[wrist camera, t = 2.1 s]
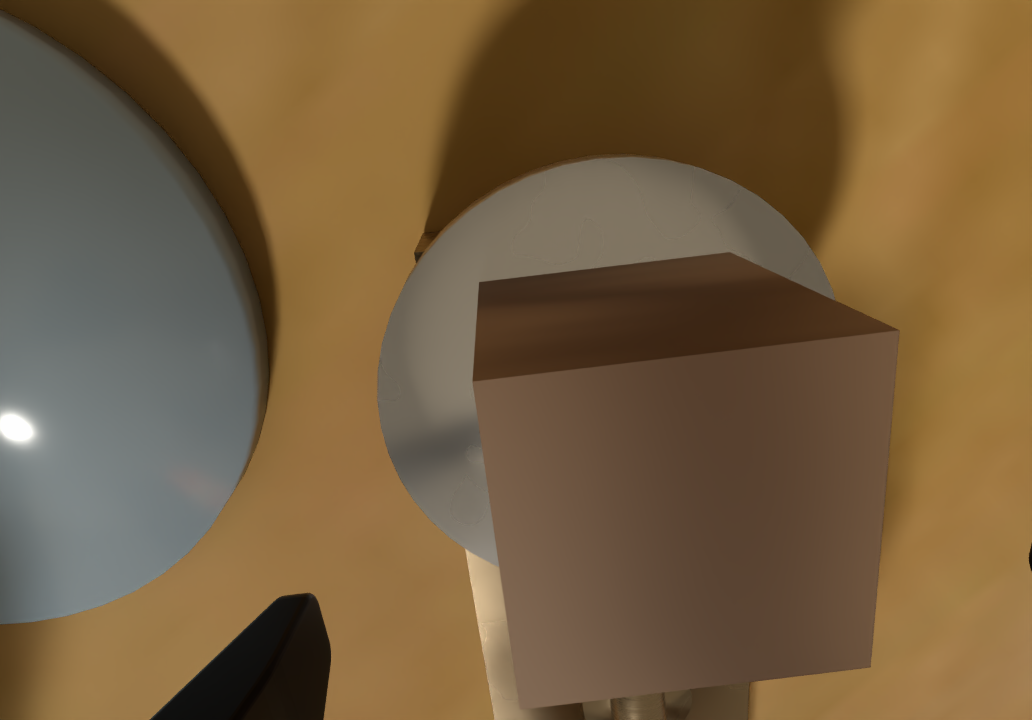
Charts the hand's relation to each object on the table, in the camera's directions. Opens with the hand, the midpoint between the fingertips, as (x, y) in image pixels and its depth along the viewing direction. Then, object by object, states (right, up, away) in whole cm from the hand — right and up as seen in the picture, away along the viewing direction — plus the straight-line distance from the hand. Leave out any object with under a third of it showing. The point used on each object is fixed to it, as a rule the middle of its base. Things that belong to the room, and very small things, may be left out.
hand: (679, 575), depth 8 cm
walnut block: (0, +2, +4) cm, 5 cm away
